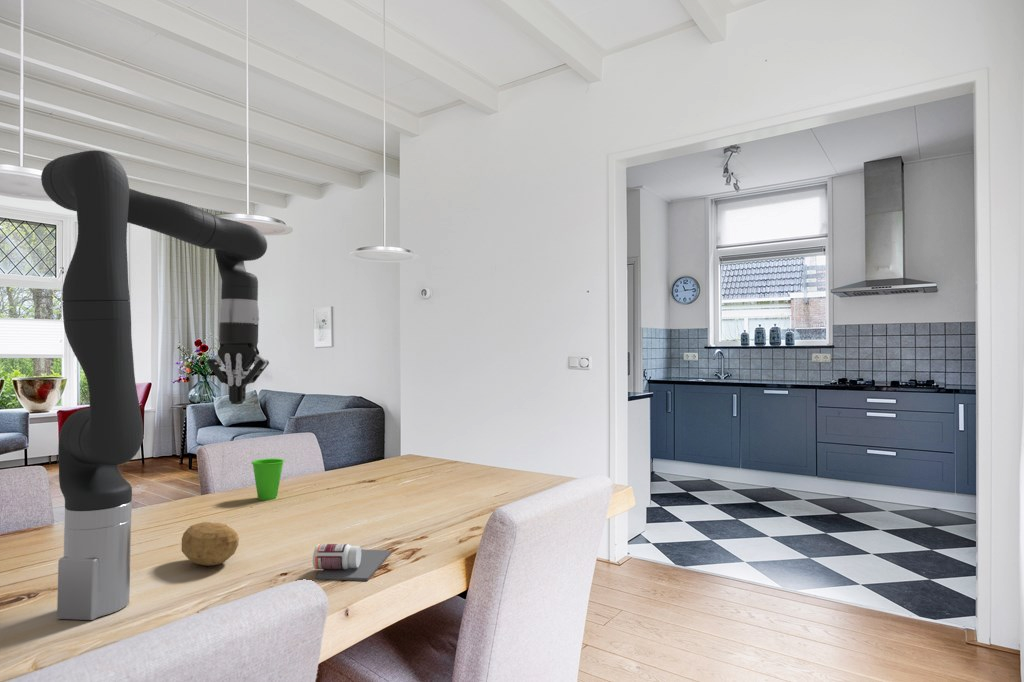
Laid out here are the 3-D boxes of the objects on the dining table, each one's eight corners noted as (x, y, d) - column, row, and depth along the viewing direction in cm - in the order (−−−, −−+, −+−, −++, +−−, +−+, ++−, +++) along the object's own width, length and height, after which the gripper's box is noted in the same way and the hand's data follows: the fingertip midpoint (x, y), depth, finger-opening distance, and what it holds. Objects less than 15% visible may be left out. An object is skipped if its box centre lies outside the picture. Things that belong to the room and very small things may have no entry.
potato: (214, 550, 128) (215, 513, 128) (250, 564, 120) (250, 524, 120) (167, 563, 120) (168, 523, 120) (201, 578, 112) (202, 536, 112)
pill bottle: (318, 570, 117) (360, 571, 117) (310, 567, 113) (353, 568, 113) (322, 545, 120) (363, 546, 119) (314, 541, 115) (357, 542, 115)
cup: (250, 496, 177) (251, 459, 177) (282, 493, 181) (283, 457, 181) (251, 503, 169) (251, 464, 169) (285, 500, 173) (285, 462, 173)
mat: (367, 580, 111) (367, 578, 111) (316, 578, 112) (316, 576, 112) (391, 552, 127) (391, 550, 127) (346, 551, 128) (346, 548, 128)
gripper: (198, 320, 122) (196, 404, 121) (259, 320, 121) (257, 405, 120) (219, 322, 129) (217, 402, 129) (277, 323, 128) (276, 403, 128)
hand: (237, 403), depth 124 cm, fingers closed
